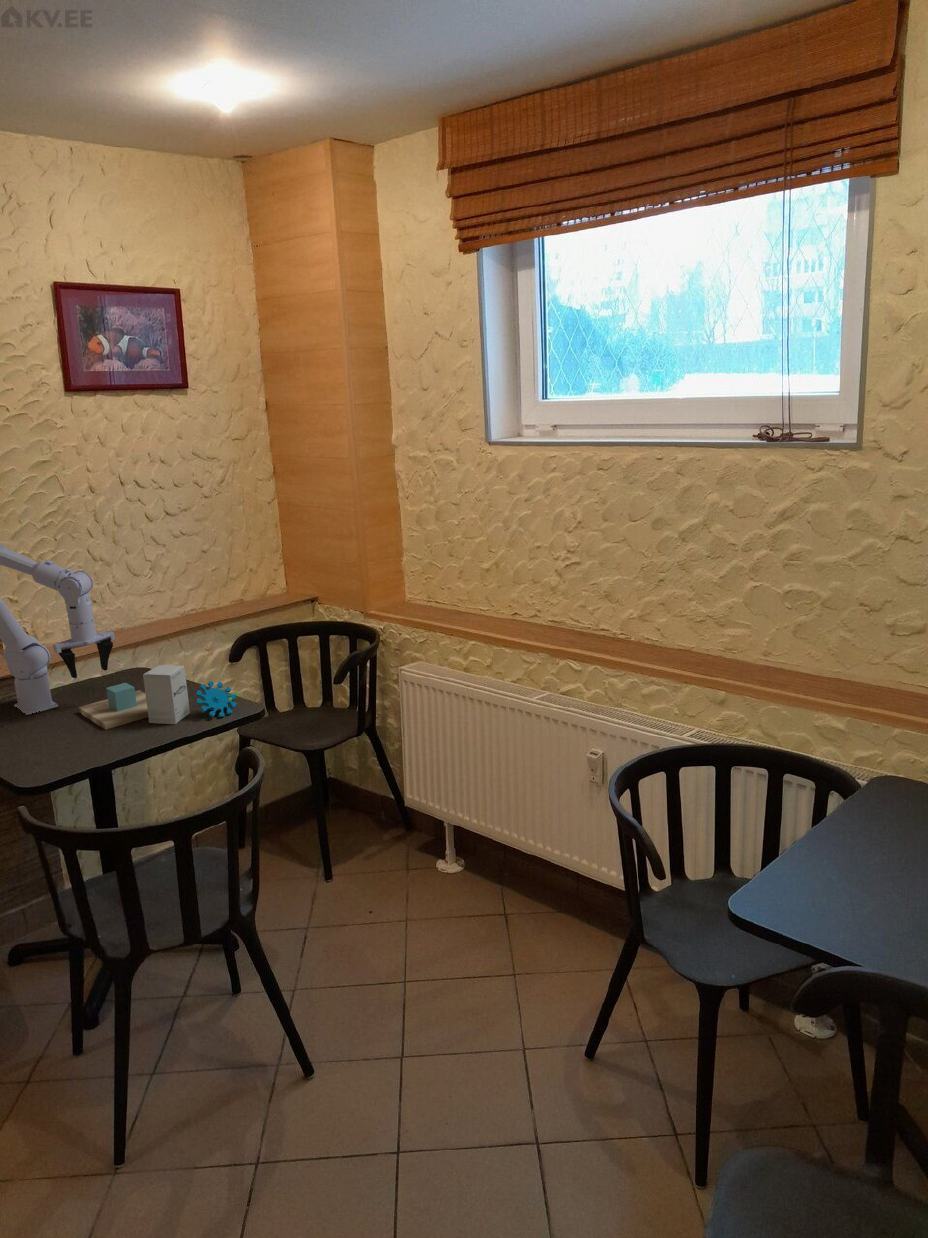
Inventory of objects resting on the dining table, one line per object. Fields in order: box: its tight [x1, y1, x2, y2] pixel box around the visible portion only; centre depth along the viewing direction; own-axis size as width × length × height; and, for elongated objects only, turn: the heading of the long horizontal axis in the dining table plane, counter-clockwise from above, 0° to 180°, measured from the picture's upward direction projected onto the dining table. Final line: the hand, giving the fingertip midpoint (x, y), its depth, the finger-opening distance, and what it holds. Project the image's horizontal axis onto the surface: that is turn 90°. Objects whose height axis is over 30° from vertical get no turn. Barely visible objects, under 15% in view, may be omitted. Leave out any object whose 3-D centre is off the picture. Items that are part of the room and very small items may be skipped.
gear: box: [195, 680, 240, 718], centre depth 231 cm, size 11×6×10 cm
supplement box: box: [142, 664, 191, 725], centre depth 227 cm, size 7×7×13 cm
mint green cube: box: [106, 682, 137, 712], centre depth 233 cm, size 5×5×5 cm
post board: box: [78, 690, 149, 730], centre depth 234 cm, size 16×16×5 cm
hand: (89, 673), depth 235 cm, fingers open, 7 cm apart
